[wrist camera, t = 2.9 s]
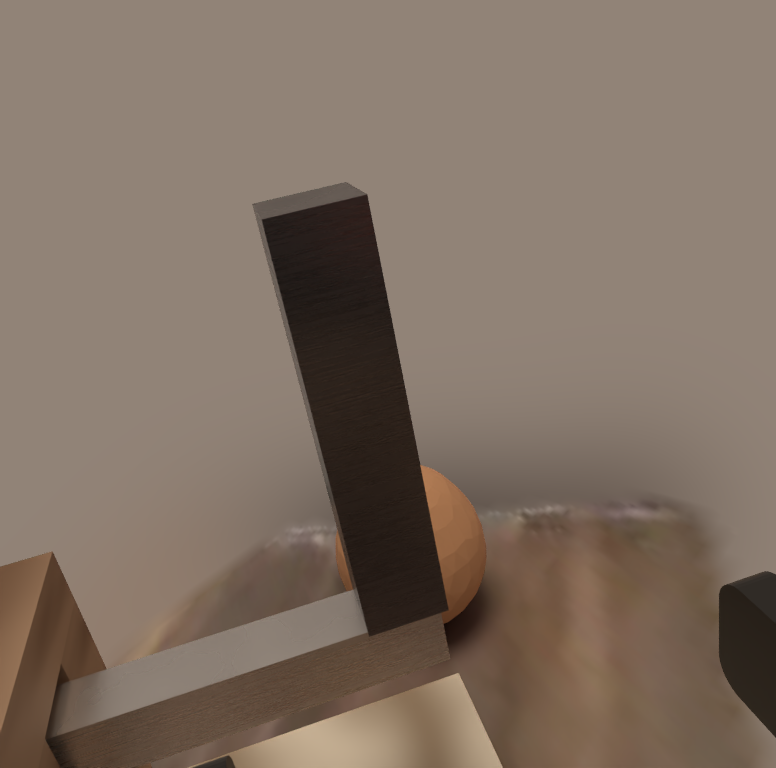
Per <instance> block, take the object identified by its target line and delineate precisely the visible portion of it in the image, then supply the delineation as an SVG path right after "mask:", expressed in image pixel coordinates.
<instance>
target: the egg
mask: <svg viewBox="0 0 776 768" xmlns="http://www.w3.org/2000/svg"><path fill="white" fill-rule="evenodd" d="M420 466H421V471H422V476H423V481H424V487H425V492H426V497H427V502H428V507H429V512H430V517H431V522H432V527H433V532H434V537H435V543H436V548H437V553H438V558H439V563H440V568H441V573H442V578H443V583H444V588H445V594H446V599H447V604H448V609H449V610H448V611H445V612H442V613H441V615H442V620H443V624H445V623H447V622H449V621H450V620H452V619H453V618H454V617H456V616H457V615H458V614H459V613H461V612H462V611H463V610H464V609H465V608H466V607H467V605H468V604H469V603H470V601H471V600H472V599H473V598H474V596H475V595H476V593H477V591H478V588H479V586H480V584H481V581H482V578H483V575H484V572H485V564H486V543H485V539H484V534H483V530H482V525H481V523H480V521H479V518H478V516H477V514H476V512H475V509H474V507H473V506H472V504H471V503H470V502H469V500H468V499H467V497H466V496H465V495H464V494H463V493H462V492H461V491H460V490H459V489H458V488H457V487H456V486H455V485H454V484H453V483H452V482H451V481H449V480H448V479H447V478H445V477H444V476H443V475H442V474H440V473H439V472H437V471H435V470H433V469H431V468H428V467H425V466H422V465H420ZM336 560H337V565H338V571H339V574H340V577H341V579H342V582H343V584H344V586H345V589H346V591H350V590H353V587H352V584H351V580H350V576H349V572H348V568H347V565H346V561H345V557H344V553H343V549H342V545H341V542H340V538H339V534H338V530H337V535H336Z"/></svg>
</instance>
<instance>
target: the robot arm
mask: <svg viewBox="0 0 776 768" xmlns="http://www.w3.org/2000/svg"><path fill="white" fill-rule="evenodd" d="M719 657H720V662H721V666H722V669H723V672H724V674H725V676H726V678H727V680H728V682H729V684H730V685H731V687H732V689H733V690H734V691H735V693H736V694H737V695H738V696H739V698H740V699H741V700H742V701H743V702H744V703H745V704H746V705H747V706H748V707H749V709H750V710H751V711H752V712H753V713H754V714H755V715H756V716H757V717H758V719H759V720H760V721H761V722H762V723H763V724H764V725H765V726H766V727H767V728H768V730H769V731H770V732H771V733H772V734H773V735H774V736H775V737H776V575H775V574H773V573H771V572H766V571H765V572H762V573H759V574H756V575H753V576H750V577H747V578H744V579H741V580H738V581H735V582H733V583H730V584H727V585H724V586H723V587H722V588H721V589H720V593H719ZM193 768H235V765H234V763H233V760H232V758H231V757H230V756H229V755H227V756H225V757H222V758H219V759H216V760H213V761H210V762H207V763H204V764H201V765H199V766H196V767H193Z"/></svg>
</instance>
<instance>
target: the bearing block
mask: <svg viewBox="0 0 776 768" xmlns="http://www.w3.org/2000/svg"><path fill="white" fill-rule="evenodd" d="M103 670H106V667H105V664H104V662H103V660H102V658H101V656H100V654H99V651H98V649H97V647H96V645H95V643H94V641H93V639H92V636H91V634H90V632H89V630H88V628H87V626H86V623H85V621H84V619H83V617H82V615H81V612H80V610H79V608H78V606H77V604H76V602H75V599H74V597H73V595H72V593H71V591H70V589H69V586H68V584H67V582H66V580H65V578H64V575H63V573H62V571H61V569H60V567H59V565H58V562H57V560H56V558H55V556H54V554H53V552H49V553H46V554H42V555H39V556H35V557H32V558H29V559H25V560H22V561H18V562H15V563H11V564H8V565H5V566H2V567H0V768H60V766H59V764H58V762H57V760H56V758H55V757H54V755H53V753H52V751H51V749H50V747H49V745H48V744H47V742H46V740H45V735H46V731H47V726H48V722H49V717H50V712H51V708H52V703H53V698H54V694H55V689H56V685H60V684H63V683H66V682H69V681H72V680H75V679H78V678H81V677H84V676H87V675H90V674H94V673H97V672H100V671H103ZM227 755H229V756H230V757H231V758H232V760H233V763H234V765H235V768H503V767H502V765H501V763H500V761H499V759H498V756H497V754H496V752H495V750H494V748H493V746H492V744H491V741H490V739H489V737H488V735H487V733H486V731H485V729H484V726H483V724H482V722H481V720H480V718H479V716H478V714H477V712H476V709H475V707H474V705H473V703H472V701H471V699H470V697H469V694H468V692H467V690H466V688H465V686H464V684H463V682H462V679H461V677H460V675H459V673H457V674H454V675H451V676H449V677H446V678H443V679H440V680H437V681H434V682H431V683H428V684H426V685H423V686H420V687H417V688H414V689H411V690H408V691H406V692H403V693H400V694H397V695H394V696H391V697H388V698H386V699H383V700H380V701H377V702H374V703H371V704H368V705H365V706H363V707H360V708H357V709H354V710H351V711H348V712H345V713H343V714H340V715H337V716H334V717H331V718H328V719H325V720H323V721H320V722H317V723H314V724H311V725H308V726H305V727H302V728H300V729H297V730H294V731H291V732H288V733H285V734H282V735H280V736H277V737H274V738H271V739H268V740H265V741H262V742H260V743H257V744H254V745H251V746H248V747H245V748H242V749H240V750H237V751H234V752H231V753H228V754H225V755H222V756H219V757H217V758H214V759H211V760H208V761H205V762H202V763H199V764H197V765H194V766H191V767H188V768H193V767H196V766H199V765H201V764H204V763H207V762H210V761H213V760H216V759H219V758H222V757H225V756H227ZM137 768H152V766H151V764H150V763H149V764H146V765H143V766H140V767H137Z"/></svg>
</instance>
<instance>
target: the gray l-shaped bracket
mask: <svg viewBox="0 0 776 768" xmlns="http://www.w3.org/2000/svg"><path fill="white" fill-rule="evenodd" d="M253 208H254V212H255V216H256V220H257V223H258V227H259V231H260V235H261V239H262V242H263V246H264V250H265V254H266V258H267V262H268V266H269V269H270V273H271V277H272V281H273V285H274V289H275V292H276V296H277V300H278V304H279V308H280V311H281V315H282V319H283V323H284V327H285V331H286V334H287V338H288V342H289V346H290V350H291V354H292V358H293V361H294V365H295V369H296V373H297V377H298V380H299V384H300V388H301V392H302V396H303V400H304V404H305V407H306V411H307V415H308V419H309V423H310V427H311V430H312V434H313V438H314V442H315V446H316V450H317V453H318V457H319V461H320V465H321V469H322V472H323V476H324V480H325V484H326V488H327V492H328V496H329V499H330V503H331V507H332V511H333V515H334V519H335V522H336V526H337V530H338V534H339V538H340V542H341V545H342V549H343V553H344V557H345V561H346V565H347V568H348V572H349V576H350V580H351V584H352V587H353V590H350V591H347V592H344V593H341V594H338V595H335V596H332V597H329V598H326V599H323V600H320V601H316V602H313V603H310V604H307V605H304V606H301V607H298V608H295V609H292V610H289V611H285V612H282V613H279V614H276V615H273V616H270V617H267V618H264V619H261V620H258V621H255V622H251V623H248V624H245V625H242V626H239V627H236V628H233V629H230V630H227V631H224V632H220V633H217V634H214V635H211V636H208V637H205V638H202V639H199V640H196V641H193V642H190V643H186V644H183V645H180V646H177V647H174V648H171V649H168V650H165V651H162V652H159V653H155V654H152V655H149V656H146V657H143V658H140V659H137V660H134V661H131V662H128V663H125V664H121V665H118V666H115V667H112V668H109V669H106V670H103V671H100V672H97V673H94V674H90V675H87V676H84V677H81V678H78V679H75V680H72V681H69V682H66V683H63V684H60V685H56V689H55V694H54V698H53V703H52V708H51V712H50V717H49V722H48V726H47V731H46V735H45V740H46V742H47V744H48V745H49V747H50V749H51V751H52V753H53V755H54V757H55V758H56V760H57V762H58V764H59V766H60V768H137V767H140V766H143V765H146V764H149V763H152V762H155V761H158V760H160V759H163V758H166V757H169V756H172V755H175V754H178V753H181V752H184V751H186V750H189V749H192V748H195V747H198V746H201V745H204V744H207V743H210V742H213V741H215V740H218V739H221V738H224V737H227V736H230V735H233V734H236V733H239V732H241V731H244V730H247V729H250V728H253V727H256V726H259V725H262V724H265V723H268V722H270V721H273V720H276V719H279V718H282V717H285V716H288V715H291V714H294V713H296V712H299V711H302V710H305V709H308V708H311V707H314V706H317V705H320V704H322V703H325V702H328V701H331V700H334V699H337V698H340V697H343V696H346V695H349V694H351V693H354V692H357V691H360V690H363V689H366V688H369V687H372V686H375V685H377V684H380V683H383V682H386V681H389V680H392V679H395V678H398V677H401V676H403V675H406V674H409V673H412V672H415V671H418V670H421V669H424V668H427V667H430V666H432V665H435V664H438V663H441V662H444V661H447V660H450V655H449V650H448V645H447V640H446V635H445V630H444V625H443V620H442V615H441V613H442V612H445V611H448V610H449V609H448V604H447V599H446V594H445V588H444V583H443V578H442V573H441V568H440V563H439V558H438V553H437V548H436V543H435V537H434V532H433V527H432V522H431V517H430V512H429V507H428V502H427V497H426V492H425V487H424V481H423V476H422V471H421V466H420V461H419V456H418V451H417V446H416V441H415V436H414V431H413V426H412V421H411V415H410V411H409V405H408V400H407V395H406V390H405V385H404V380H403V374H402V369H401V364H400V359H399V354H398V349H397V344H396V339H395V334H394V329H393V323H392V318H391V313H390V308H389V303H388V299H387V293H386V288H385V283H384V278H383V273H382V267H381V263H380V257H379V252H378V247H377V242H376V237H375V232H374V227H373V222H372V217H371V212H370V206H369V201H368V196H367V194H366V193H364V192H362V191H360V190H359V189H357V188H355V187H353V186H352V185H350V184H348V183H346V182H345V183H340V184H336V185H332V186H327V187H323V188H319V189H315V190H310V191H306V192H302V193H297V194H293V195H289V196H284V197H280V198H276V199H272V200H267V201H263V202H259V203H255V204H253Z"/></svg>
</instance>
